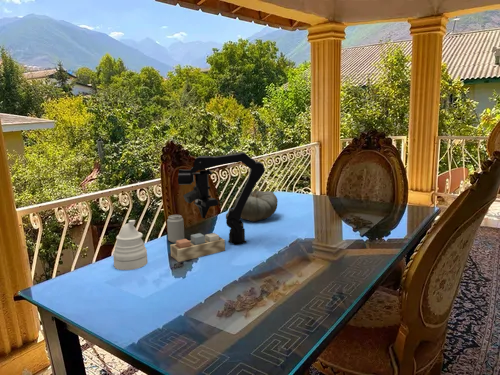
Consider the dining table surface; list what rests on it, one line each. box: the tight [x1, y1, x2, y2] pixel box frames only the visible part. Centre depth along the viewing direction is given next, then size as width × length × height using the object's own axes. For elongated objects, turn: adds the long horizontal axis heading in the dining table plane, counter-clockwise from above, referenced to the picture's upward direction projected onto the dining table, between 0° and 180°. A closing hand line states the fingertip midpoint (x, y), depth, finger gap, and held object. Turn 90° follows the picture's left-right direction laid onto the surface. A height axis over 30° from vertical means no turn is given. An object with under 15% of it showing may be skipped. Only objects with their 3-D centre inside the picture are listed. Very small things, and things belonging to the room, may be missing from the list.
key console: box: [169, 236, 226, 263], centre depth 162 cm, size 22×8×5 cm, turn 124°
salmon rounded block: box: [175, 238, 190, 249], centre depth 158 cm, size 4×4×5 cm
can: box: [166, 214, 185, 244], centre depth 178 cm, size 8×8×12 cm
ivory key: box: [204, 232, 220, 242], centre depth 165 cm, size 4×4×5 cm
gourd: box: [233, 188, 279, 222], centre depth 213 cm, size 25×25×17 cm
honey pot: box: [112, 219, 149, 271], centre depth 151 cm, size 13×13×18 cm
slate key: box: [190, 232, 205, 245], centre depth 161 cm, size 4×4×5 cm
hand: (203, 218), depth 173 cm, fingers closed
